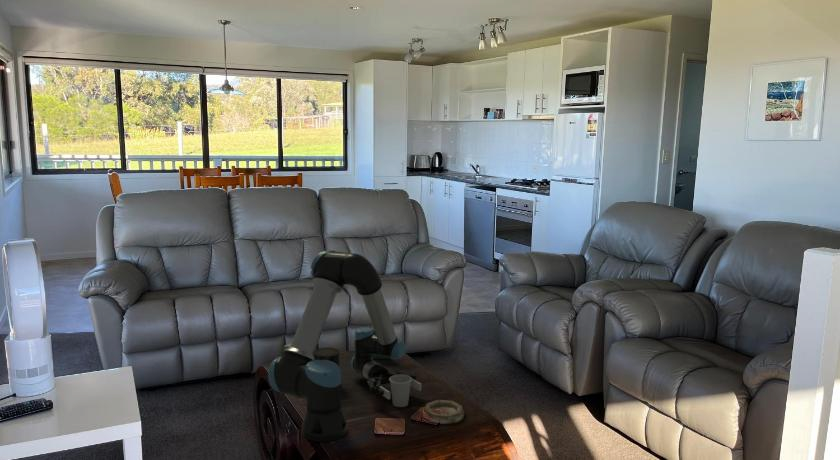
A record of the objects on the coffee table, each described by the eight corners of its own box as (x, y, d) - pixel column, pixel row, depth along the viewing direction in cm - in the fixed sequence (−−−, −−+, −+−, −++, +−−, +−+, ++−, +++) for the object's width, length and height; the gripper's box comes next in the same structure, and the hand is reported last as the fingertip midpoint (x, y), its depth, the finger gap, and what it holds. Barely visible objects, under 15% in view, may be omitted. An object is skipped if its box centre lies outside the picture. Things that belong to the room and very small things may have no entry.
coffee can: (334, 391, 235) (334, 357, 233) (310, 389, 237) (309, 354, 235) (343, 381, 244) (343, 348, 243) (320, 379, 247) (319, 346, 245)
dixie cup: (408, 409, 219) (409, 383, 218) (386, 407, 221) (386, 381, 219) (413, 400, 227) (413, 375, 226) (392, 398, 229) (392, 373, 227)
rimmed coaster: (438, 427, 205) (438, 421, 205) (414, 411, 217) (414, 405, 217) (472, 416, 213) (472, 410, 213) (447, 402, 226) (447, 395, 225)
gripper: (402, 375, 245) (432, 393, 228) (348, 389, 231) (375, 409, 214) (402, 358, 244) (432, 374, 227) (347, 370, 230) (375, 389, 213)
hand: (405, 391), depth 220 cm, fingers open, 13 cm apart
